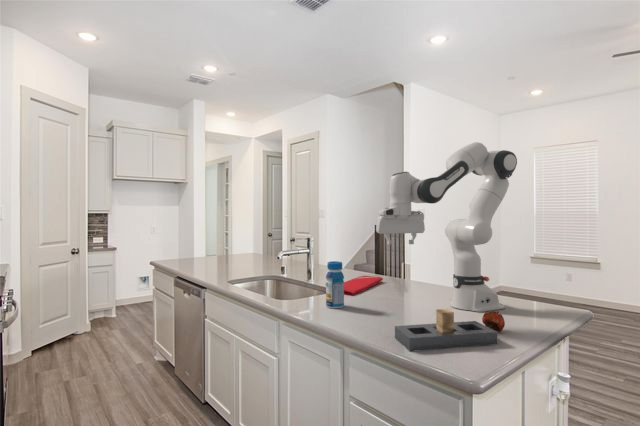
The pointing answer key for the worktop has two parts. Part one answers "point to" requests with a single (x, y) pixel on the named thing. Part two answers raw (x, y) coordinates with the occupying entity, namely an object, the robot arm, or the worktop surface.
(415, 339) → the gray socket block
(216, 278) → the worktop surface
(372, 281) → the dish drying mat
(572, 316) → the worktop surface
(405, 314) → the worktop surface
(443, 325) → the oak peg
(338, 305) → the beverage bottle
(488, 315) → the pomegranate
